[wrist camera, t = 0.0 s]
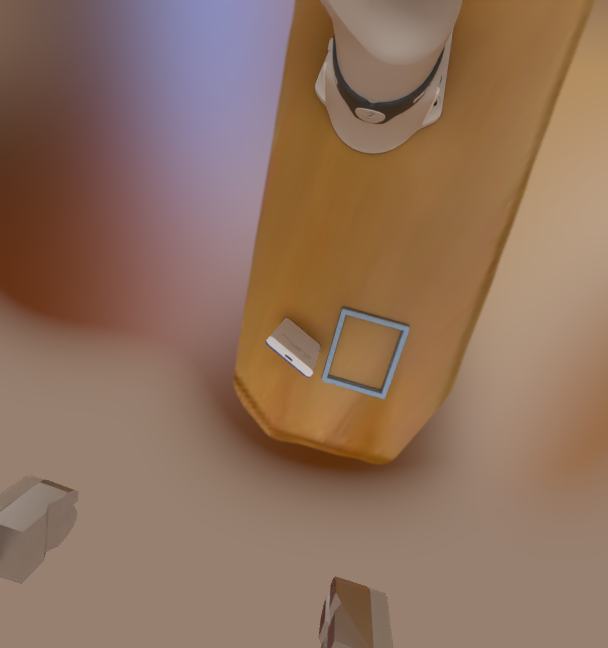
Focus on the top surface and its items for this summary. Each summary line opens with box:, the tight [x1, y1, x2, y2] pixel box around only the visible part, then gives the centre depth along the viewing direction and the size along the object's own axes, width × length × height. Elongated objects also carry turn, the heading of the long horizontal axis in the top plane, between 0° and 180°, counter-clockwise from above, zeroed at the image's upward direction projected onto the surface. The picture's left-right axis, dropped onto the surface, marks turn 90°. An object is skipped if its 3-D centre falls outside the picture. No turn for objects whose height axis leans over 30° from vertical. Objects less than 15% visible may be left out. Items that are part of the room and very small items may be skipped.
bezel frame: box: [321, 307, 410, 399], centre depth 57 cm, size 14×12×2 cm
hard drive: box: [265, 318, 321, 378], centre depth 52 cm, size 2×8×12 cm, turn 51°
